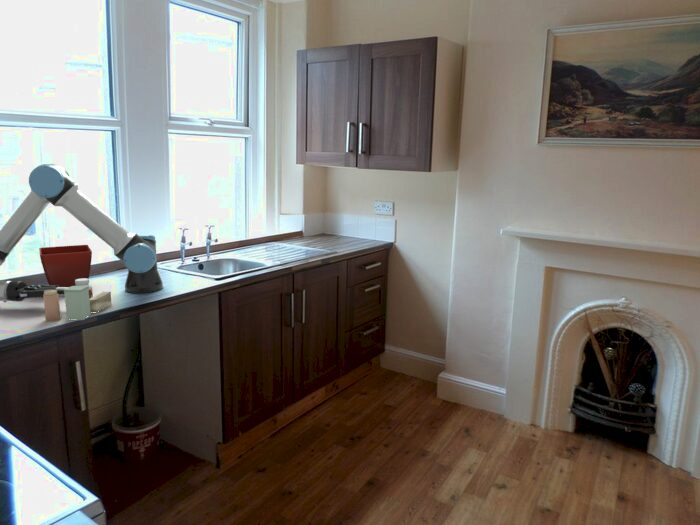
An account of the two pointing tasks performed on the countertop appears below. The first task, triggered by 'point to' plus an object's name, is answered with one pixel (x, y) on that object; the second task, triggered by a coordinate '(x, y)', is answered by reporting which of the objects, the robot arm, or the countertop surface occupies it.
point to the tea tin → (77, 302)
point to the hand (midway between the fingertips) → (74, 291)
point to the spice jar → (51, 305)
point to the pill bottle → (84, 283)
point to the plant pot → (66, 264)
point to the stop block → (100, 301)
